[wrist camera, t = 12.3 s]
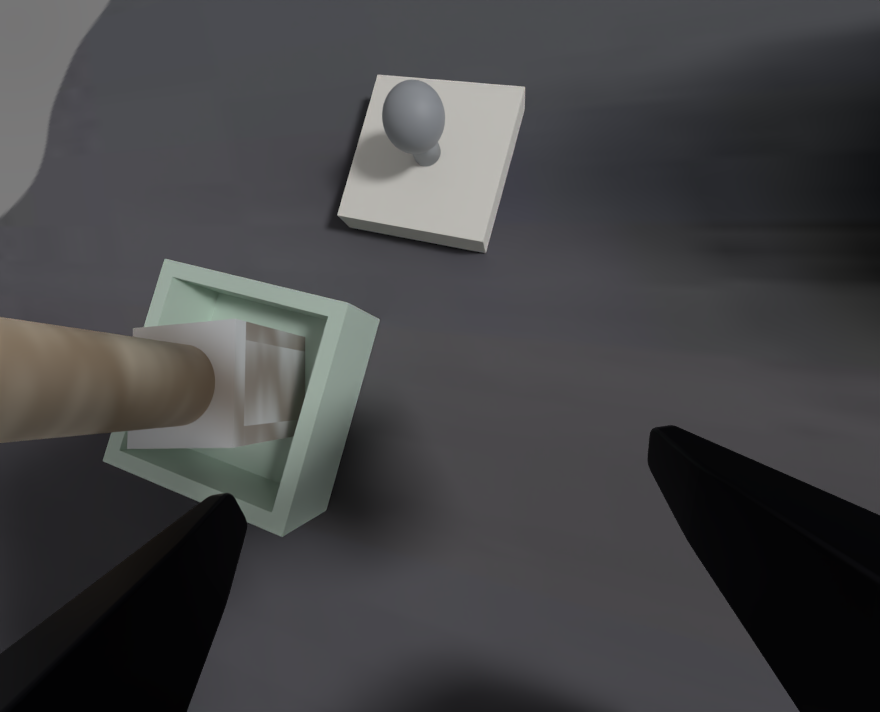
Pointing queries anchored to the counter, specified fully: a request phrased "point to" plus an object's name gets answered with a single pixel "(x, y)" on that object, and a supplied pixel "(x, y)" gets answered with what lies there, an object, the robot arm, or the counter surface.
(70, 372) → the stamp
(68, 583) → the counter surface
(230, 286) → the tray
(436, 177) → the stud plate
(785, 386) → the counter surface
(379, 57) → the counter surface
